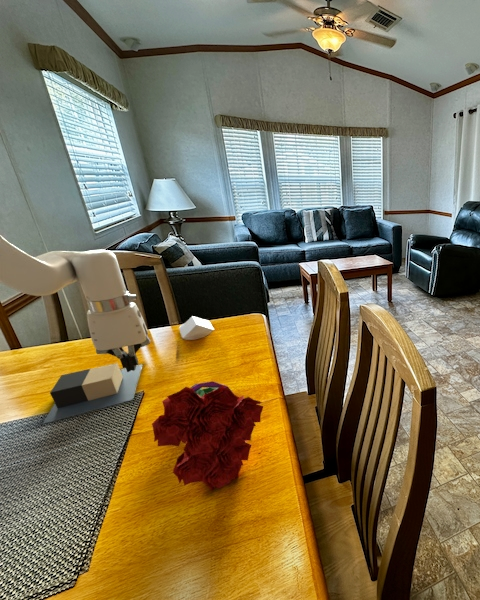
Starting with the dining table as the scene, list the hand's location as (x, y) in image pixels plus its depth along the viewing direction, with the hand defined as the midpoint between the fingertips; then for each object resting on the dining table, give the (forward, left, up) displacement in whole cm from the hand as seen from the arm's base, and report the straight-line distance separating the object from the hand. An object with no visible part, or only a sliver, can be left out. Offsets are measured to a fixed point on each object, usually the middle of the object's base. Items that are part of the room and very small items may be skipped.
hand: (131, 368), depth 84 cm
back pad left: (-12, 0, -4) cm, 12 cm away
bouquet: (+16, -31, -5) cm, 35 cm away
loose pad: (-6, 0, -4) cm, 7 cm away
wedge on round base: (+14, +23, -5) cm, 27 cm away
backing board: (-8, 0, -5) cm, 9 cm away
